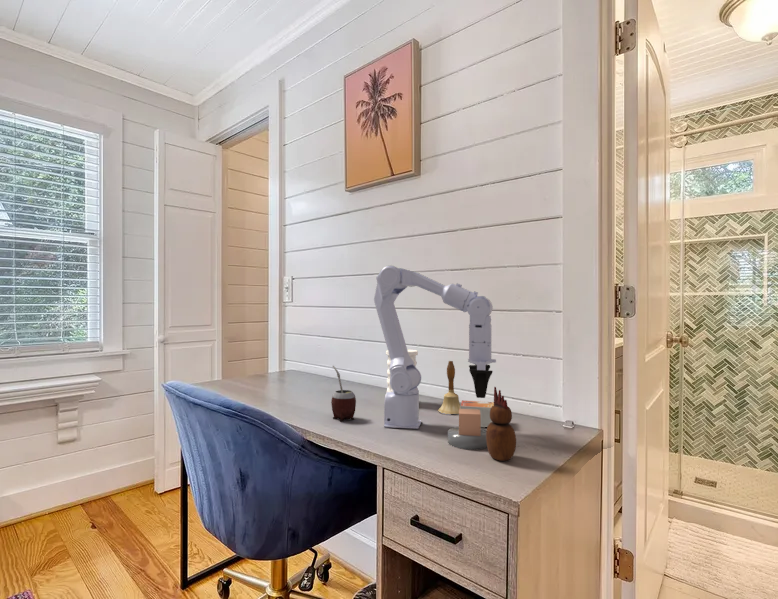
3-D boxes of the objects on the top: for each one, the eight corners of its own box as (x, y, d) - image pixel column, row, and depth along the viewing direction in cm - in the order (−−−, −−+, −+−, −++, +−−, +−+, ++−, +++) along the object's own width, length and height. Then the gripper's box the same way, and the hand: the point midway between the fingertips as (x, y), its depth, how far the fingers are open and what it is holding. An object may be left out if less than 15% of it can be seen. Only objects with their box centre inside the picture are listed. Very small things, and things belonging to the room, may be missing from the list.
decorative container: (381, 406, 141) (382, 351, 141) (387, 399, 152) (387, 348, 153) (416, 408, 139) (417, 352, 139) (420, 400, 150) (420, 349, 151)
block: (458, 434, 101) (458, 413, 101) (459, 429, 105) (459, 408, 106) (480, 436, 100) (480, 414, 100) (479, 430, 105) (479, 409, 105)
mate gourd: (353, 422, 120) (353, 369, 121) (325, 421, 121) (326, 368, 122) (357, 416, 128) (358, 365, 128) (332, 415, 129) (332, 365, 129)
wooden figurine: (482, 453, 95) (482, 385, 96) (508, 452, 96) (508, 385, 96) (492, 464, 88) (492, 391, 89) (519, 463, 89) (519, 391, 89)
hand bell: (460, 416, 128) (460, 363, 129) (434, 413, 132) (434, 361, 132) (467, 410, 136) (467, 360, 136) (442, 408, 139) (442, 359, 140)
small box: (499, 408, 115) (460, 405, 117) (499, 428, 115) (460, 426, 117) (498, 401, 123) (461, 399, 125) (498, 421, 123) (461, 419, 125)
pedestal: (446, 448, 98) (447, 437, 99) (448, 435, 108) (448, 425, 108) (491, 450, 97) (491, 439, 97) (488, 437, 107) (488, 427, 107)
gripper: (498, 344, 104) (498, 401, 103) (493, 340, 118) (493, 390, 118) (468, 344, 105) (468, 399, 105) (467, 340, 119) (467, 389, 119)
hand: (480, 394), depth 111 cm, fingers open, 7 cm apart
